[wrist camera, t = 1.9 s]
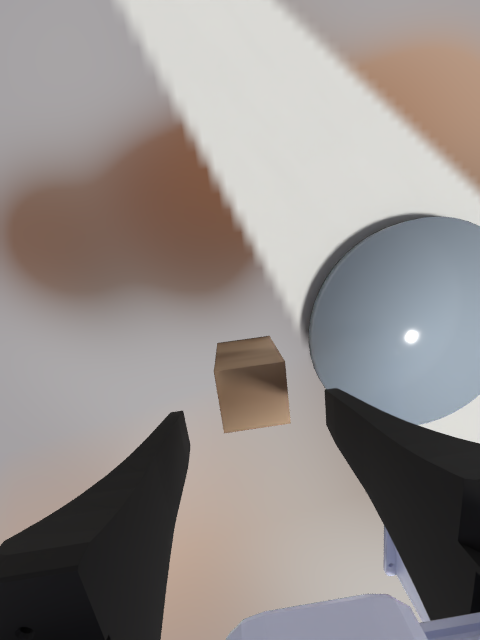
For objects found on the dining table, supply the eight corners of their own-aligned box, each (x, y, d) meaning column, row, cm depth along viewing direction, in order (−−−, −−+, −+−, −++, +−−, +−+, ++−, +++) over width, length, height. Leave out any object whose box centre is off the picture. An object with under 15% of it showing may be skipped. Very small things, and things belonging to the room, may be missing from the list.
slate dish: (495, 404, 20) (509, 411, 19) (314, 431, 20) (319, 439, 19) (521, 206, 17) (540, 202, 16) (301, 235, 16) (306, 232, 15)
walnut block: (274, 383, 19) (290, 423, 14) (225, 390, 19) (224, 433, 14) (269, 335, 18) (284, 361, 13) (217, 343, 18) (213, 371, 13)
